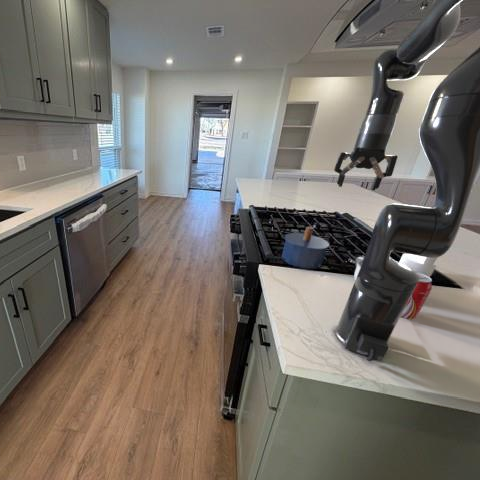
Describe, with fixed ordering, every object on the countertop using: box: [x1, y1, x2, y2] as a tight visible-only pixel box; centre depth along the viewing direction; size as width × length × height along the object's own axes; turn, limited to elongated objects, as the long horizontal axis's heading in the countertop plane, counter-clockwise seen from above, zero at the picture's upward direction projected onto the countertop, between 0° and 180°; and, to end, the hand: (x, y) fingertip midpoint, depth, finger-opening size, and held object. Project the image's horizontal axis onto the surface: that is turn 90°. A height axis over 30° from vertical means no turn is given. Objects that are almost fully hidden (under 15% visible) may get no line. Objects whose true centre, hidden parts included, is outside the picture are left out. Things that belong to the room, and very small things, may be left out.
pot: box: [281, 240, 328, 270], centre depth 96 cm, size 14×14×8 cm
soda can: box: [400, 271, 433, 320], centre depth 68 cm, size 7×7×12 cm
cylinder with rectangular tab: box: [398, 253, 439, 278], centre depth 89 cm, size 9×9×12 cm
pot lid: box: [284, 226, 330, 250], centre depth 93 cm, size 15×15×6 cm
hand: (356, 188), depth 79 cm, fingers open, 8 cm apart
